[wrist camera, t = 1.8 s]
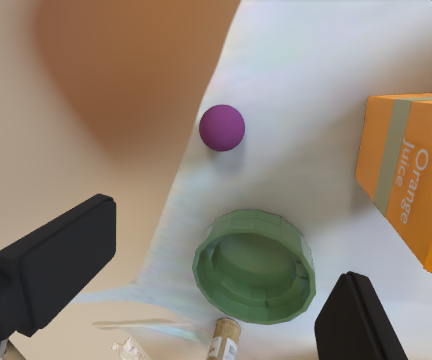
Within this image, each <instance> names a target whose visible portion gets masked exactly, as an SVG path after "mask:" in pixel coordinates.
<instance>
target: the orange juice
mask: <svg viewBox="0 0 432 360" xmlns="http://www.w3.org/2000/svg"><path fill="white" fill-rule="evenodd" d="M355 179H356V180H357V181H358V183H359V184H360V185H361V187H362V188H363V189H364V190H365V192H366V193H367V194H368V196H369V197H370V198H371V199H372V201H373V203H374V204H375V206H376V207H377V208H378V210H379V211H380V212H381V213H382V215H383V216H384V217H386V219H387V220H388V221H389V223H390V224H391V225H392V226H393V228H394V229H395V230H396V232H397V233H398V234H399V235H400V237H401V238H402V239H403V241H404V242H405V243H406V244H407V246H408V247H409V248H410V250H411V251H412V252H413V253H414V255H415V256H416V257H417V259H418V260H419V261H420V262H421V264H422V265H423V266H424V267H423V268H424V269H425V270H427V271H428V272H430V273H432V93H418V94H399V95H380V96H368V102H367V108H366V114H365V120H364V126H363V132H362V138H361V144H360V150H359V156H358V162H357V168H356V174H355Z"/></svg>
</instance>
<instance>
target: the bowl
mask: <svg viewBox="0 0 432 360" xmlns="http://www.w3.org/2000/svg"><path fill="white" fill-rule="evenodd" d="M192 269H193V273H194V277H195V281H196V284H197V286H198V288H199V289H200V291H201V292H202V293H203V295H204V296H205V297H206V299H207V300H208V301H209V302H210V303H211V304H213V305H214V306H215V307H217V308H218V309H219V310H221V311H222V312H223V313H225V314H226V315H229V316H231V317H234V318H236V319H239V320H241V321H244V322H247V323H255V324H263V325H272V324H277V323H283V322H288V321H291V320H292V319H294V318H295V317H297V316H299V315H300V314H302V313H303V312H305V311H306V310H307V309H308V307H309V305H310V303H311V302H312V300H313V298H314V296H315V294H316V287H315V272H314V266H313V260H312V254H311V249H310V247H309V246H308V244H307V242H306V241H305V239H304V237H303V236H302V234H301V232H300V231H299V230H298V229H296V228H295V227H294V226H292V225H291V224H290V223H288V222H287V221H286V220H284V219H283V218H282V217H280V216H276V215H273V214H270V213H267V212H264V211H260V210H239V211H233V212H231V213H229V214H226V215H224V216H222V217H220V218H217V219H216V220H215V222H214V223H213V224H212V225H211V226H210V227H209V229H208V230H207V231H206V232H205V234H204V236H203V238H202V240H201V242H200V244H199V246H198V248H197V249H196V252H195V256H194V261H193V266H192Z"/></svg>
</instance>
